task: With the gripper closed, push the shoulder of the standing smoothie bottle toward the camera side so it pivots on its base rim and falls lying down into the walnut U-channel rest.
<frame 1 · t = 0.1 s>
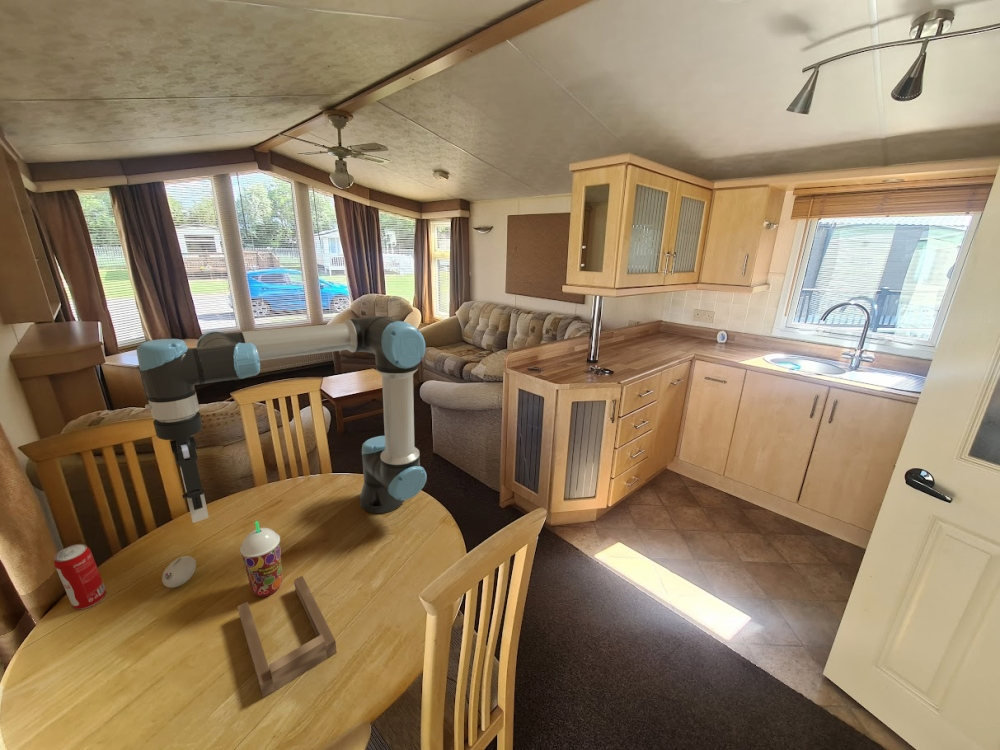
hand: (196, 503, 86), 28 cm above the table, fingers open, 13 cm apart
u rest: (286, 634, 88), on the table
beverage can: (89, 601, 93), on the table
smoothie: (268, 588, 99), on the table
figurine: (182, 583, 99), on the table
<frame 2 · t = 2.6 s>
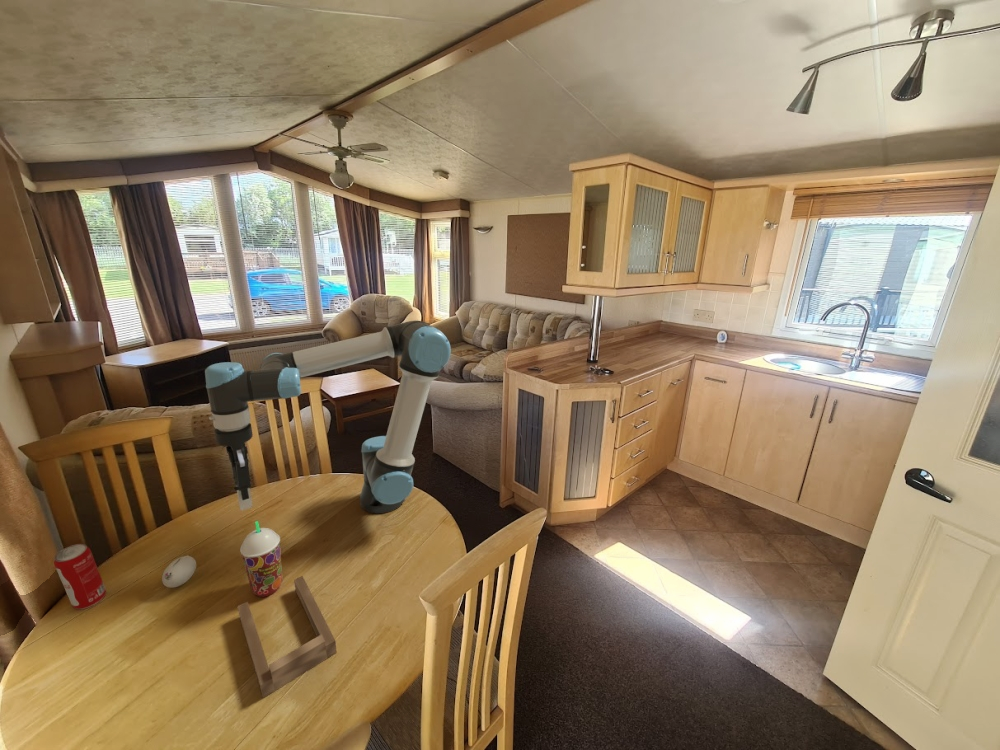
hand: (246, 507, 103), 17 cm above the table, fingers closed
nothing on the table moved.
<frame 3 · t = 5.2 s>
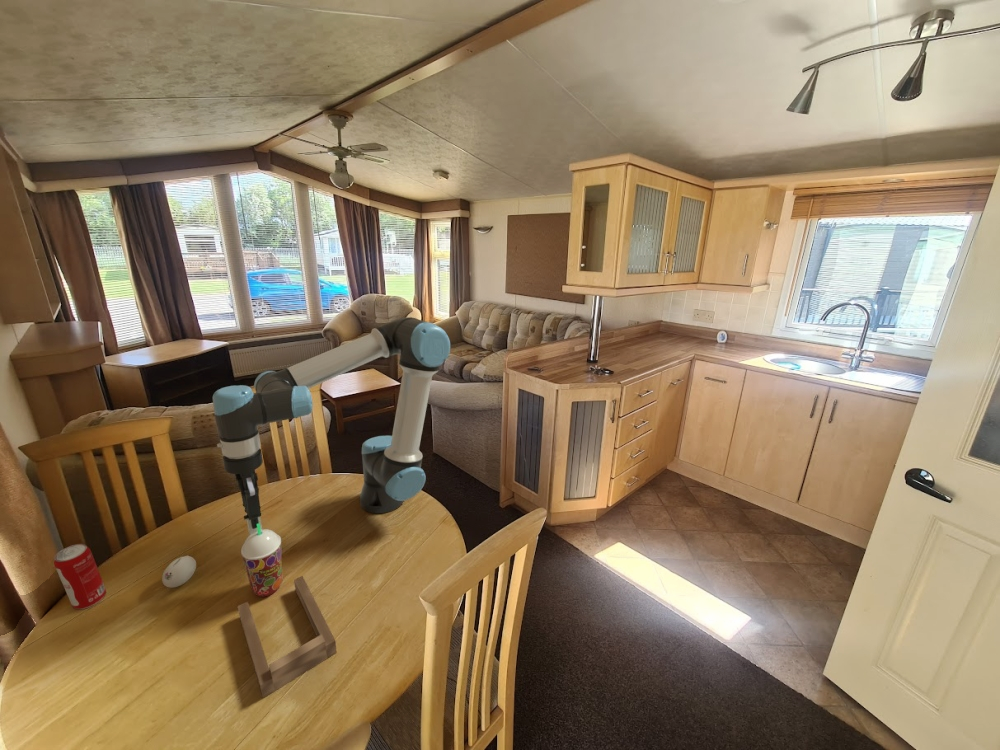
hand: (256, 535, 98), 14 cm above the table, fingers closed
smoothie: (268, 587, 99), on the table, touching gripper
everything else where it was.
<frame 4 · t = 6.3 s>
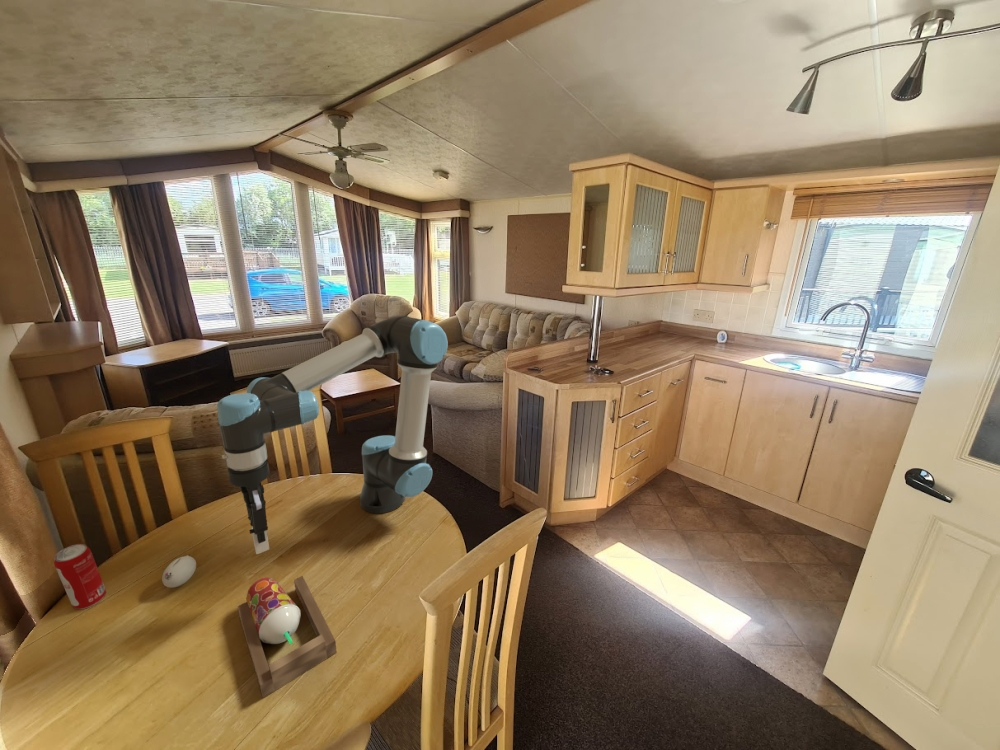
hand: (262, 549, 93), 13 cm above the table, fingers closed
smoothie: (260, 588, 95), point 4 cm above the table, touching u rest
everything else where it was.
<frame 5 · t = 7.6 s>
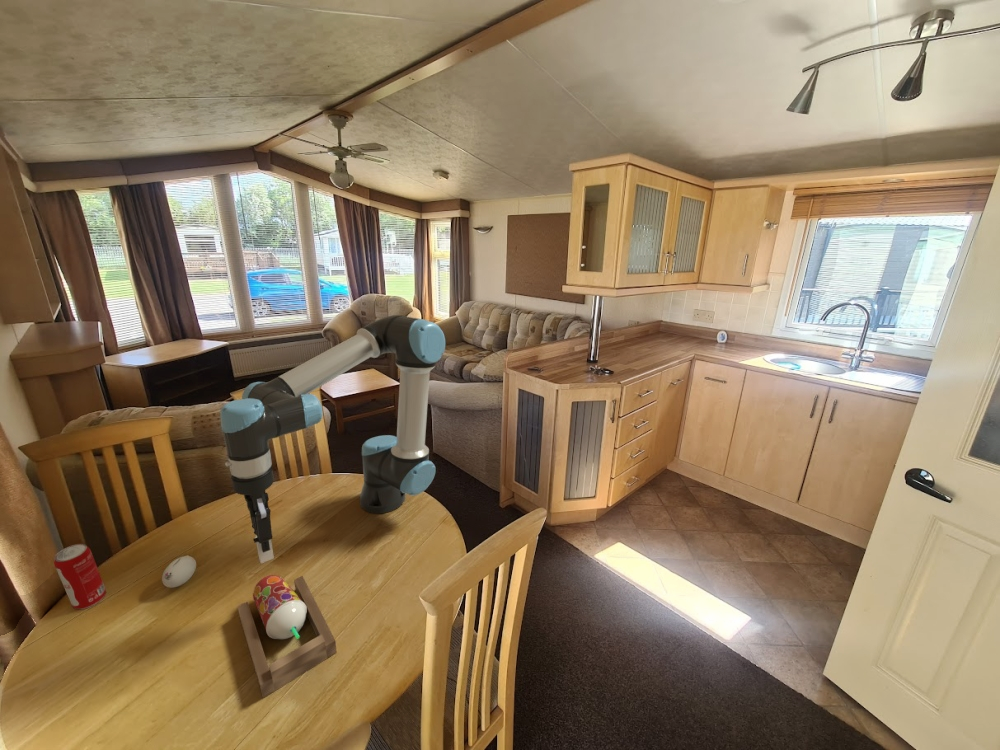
hand: (266, 558, 91), 13 cm above the table, fingers closed
smoothie: (266, 585, 96), point 3 cm above the table
everything else where it was.
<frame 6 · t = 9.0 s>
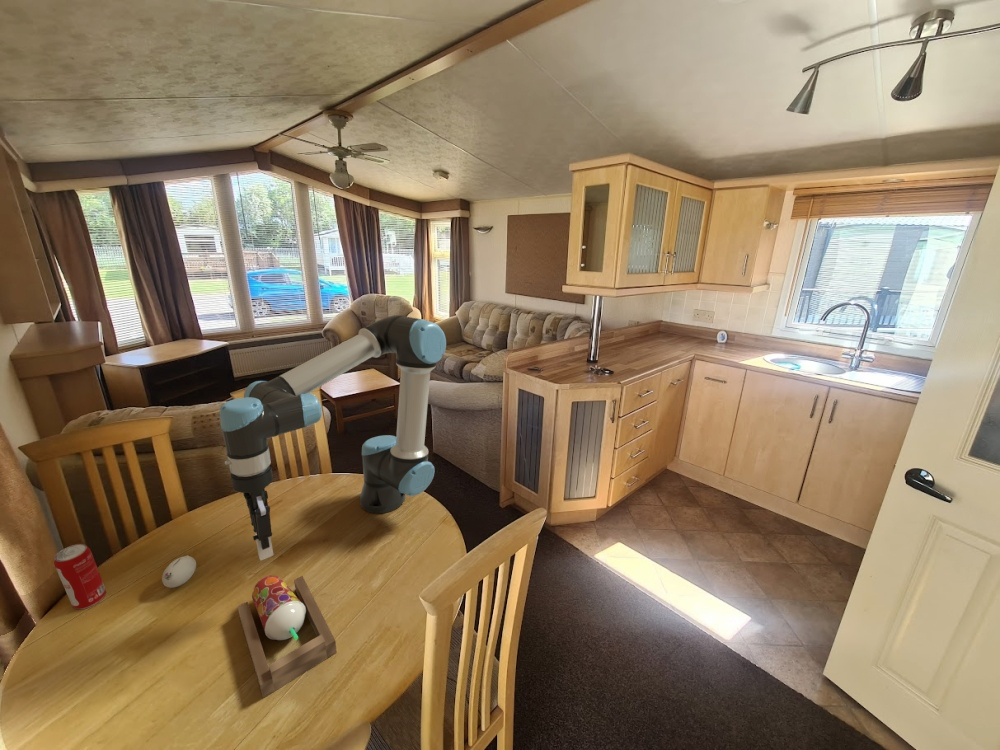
hand: (266, 556, 92), 13 cm above the table, fingers closed
nothing on the table moved.
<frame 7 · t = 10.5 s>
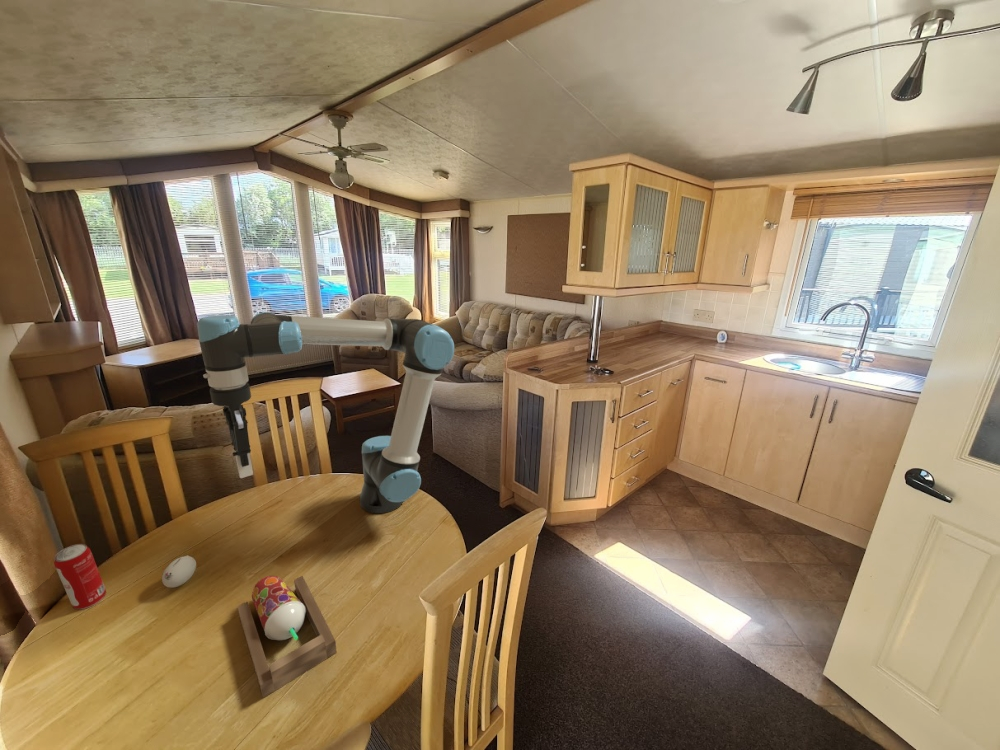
hand: (246, 475, 96), 29 cm above the table, fingers closed
nothing on the table moved.
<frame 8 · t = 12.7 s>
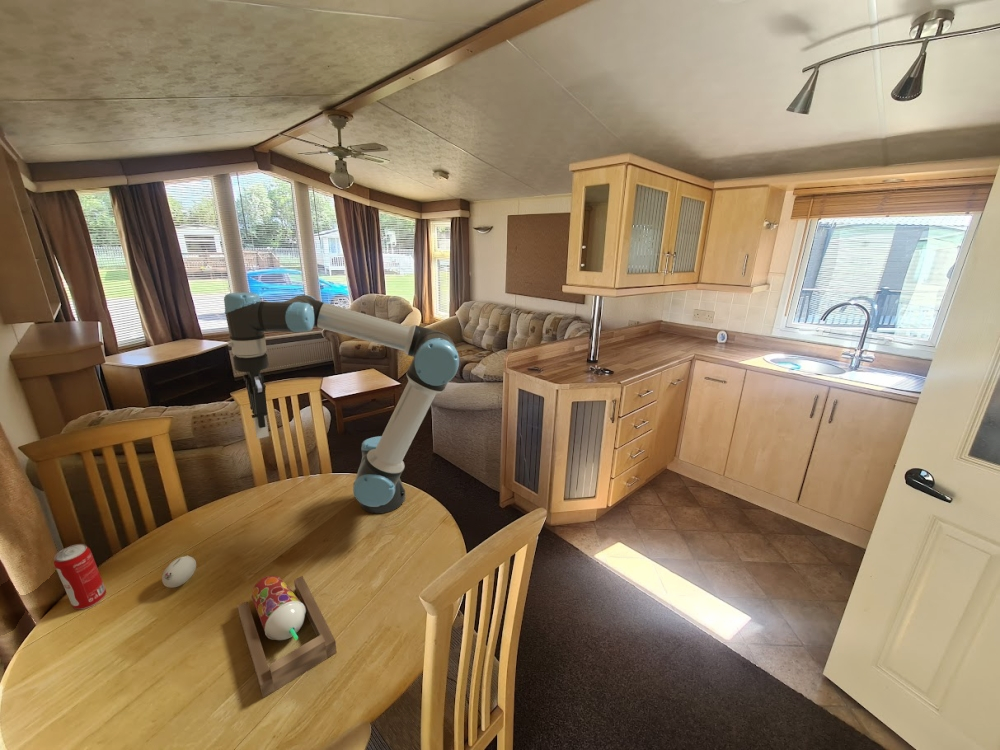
hand: (262, 436, 108), 32 cm above the table, fingers closed
nothing on the table moved.
at the end: smoothie tilted 87°; smoothie inside the target area (6.6 cm from its centre), point 3.3 cm above the table; the gripper is holding nothing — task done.
